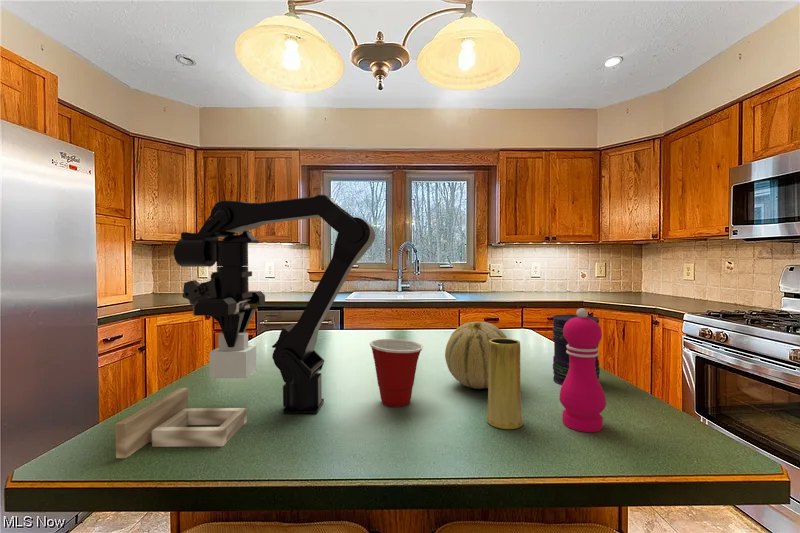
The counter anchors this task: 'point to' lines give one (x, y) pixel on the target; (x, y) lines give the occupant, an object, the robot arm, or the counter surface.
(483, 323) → the cantaloupe
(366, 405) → the counter surface
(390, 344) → the plastic cup
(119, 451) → the stand
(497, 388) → the vase
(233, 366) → the grey stepped block
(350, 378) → the counter surface
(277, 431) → the counter surface
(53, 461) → the counter surface
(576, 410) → the pepper mill
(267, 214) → the robot arm
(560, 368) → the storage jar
